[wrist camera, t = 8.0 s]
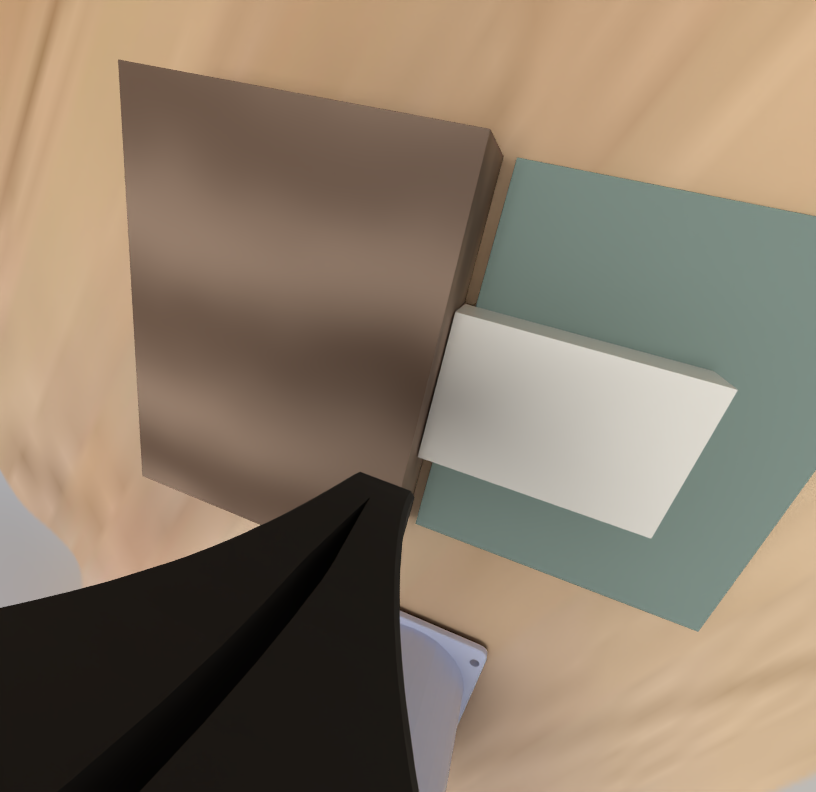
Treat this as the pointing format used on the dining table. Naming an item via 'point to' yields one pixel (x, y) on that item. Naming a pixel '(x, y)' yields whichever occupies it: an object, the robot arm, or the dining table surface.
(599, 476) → the flat white box
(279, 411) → the plate
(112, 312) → the dining table surface
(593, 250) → the mat
